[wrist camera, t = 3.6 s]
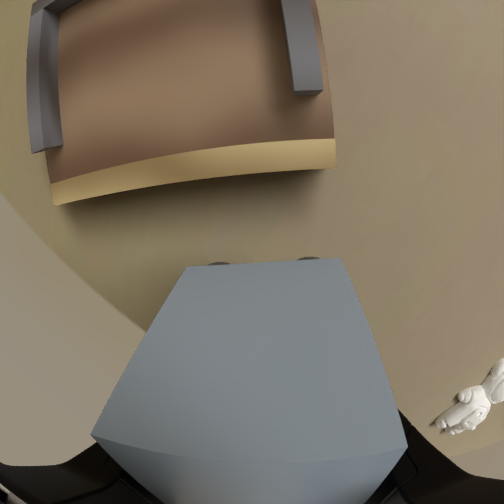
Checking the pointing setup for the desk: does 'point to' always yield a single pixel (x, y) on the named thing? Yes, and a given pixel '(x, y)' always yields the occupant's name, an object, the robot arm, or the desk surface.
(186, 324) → the pale blue box
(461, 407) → the astronaut figurine
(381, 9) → the desk surface
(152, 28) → the dock
